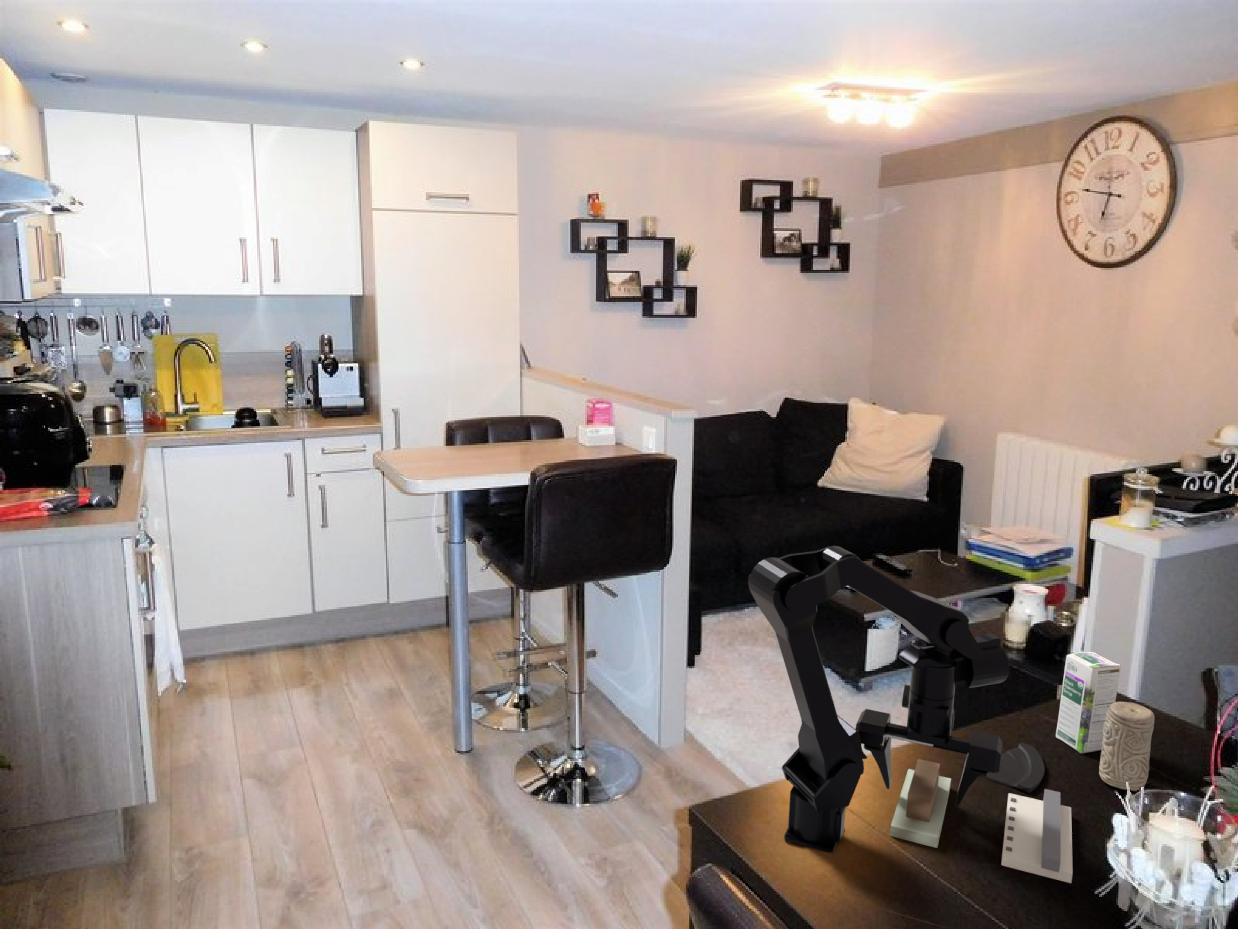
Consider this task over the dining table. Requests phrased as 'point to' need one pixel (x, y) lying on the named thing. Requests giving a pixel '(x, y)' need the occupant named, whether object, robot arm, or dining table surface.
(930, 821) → the green base with block
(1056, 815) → the notched base stand
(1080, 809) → the dining table surface
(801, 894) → the dining table surface
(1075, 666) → the syrup box
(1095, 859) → the dining table surface
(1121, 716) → the carving
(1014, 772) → the curved wedge
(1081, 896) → the dining table surface
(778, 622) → the robot arm
